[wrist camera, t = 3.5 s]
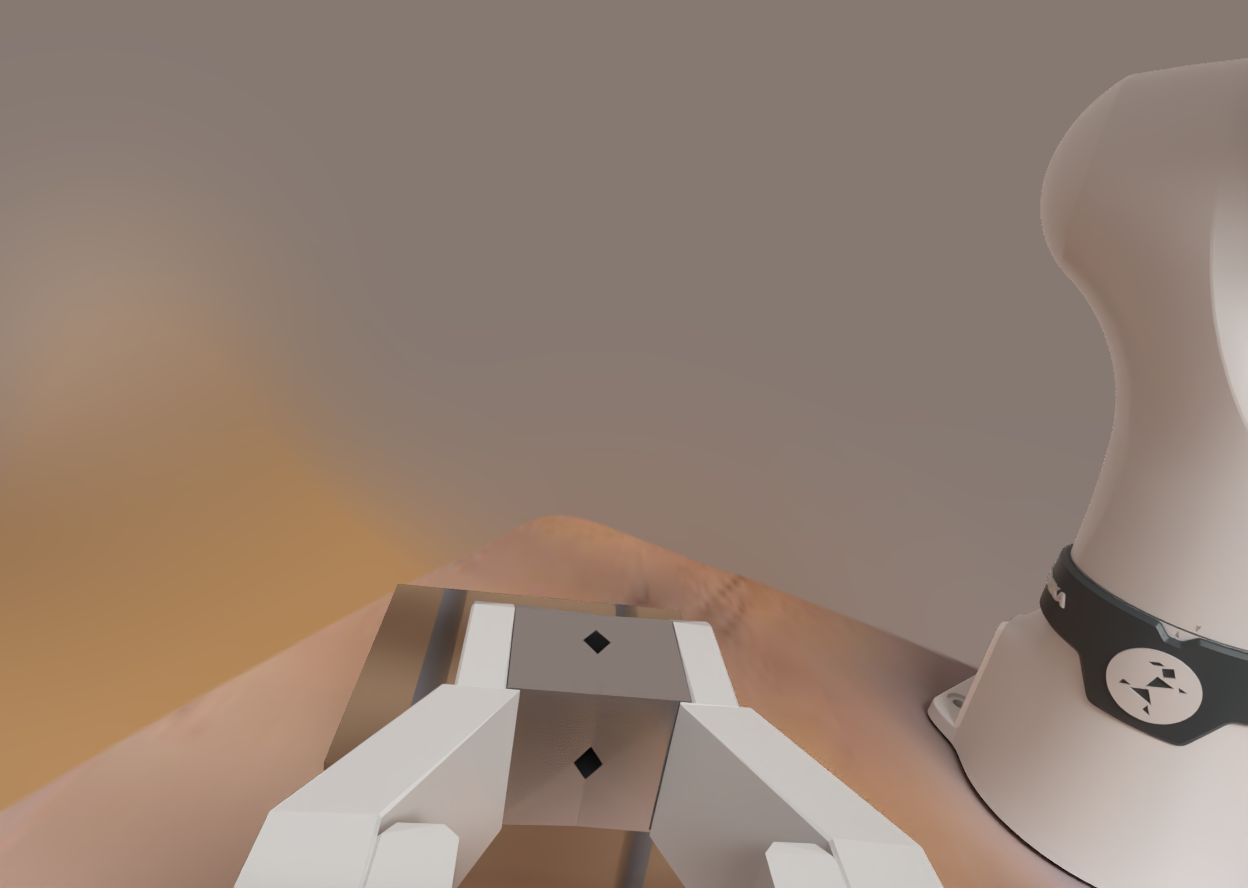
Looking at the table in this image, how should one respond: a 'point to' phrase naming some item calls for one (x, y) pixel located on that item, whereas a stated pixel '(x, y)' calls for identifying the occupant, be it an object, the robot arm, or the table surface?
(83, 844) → the table surface
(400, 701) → the crate
